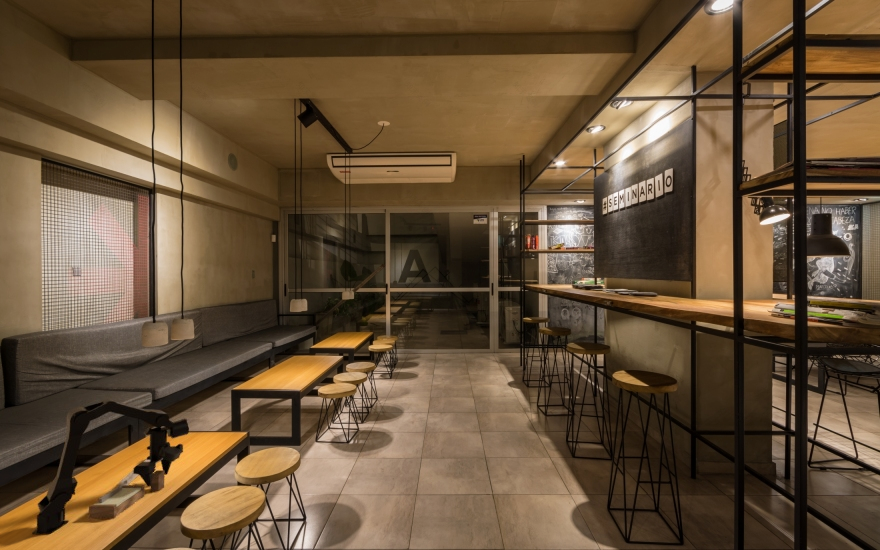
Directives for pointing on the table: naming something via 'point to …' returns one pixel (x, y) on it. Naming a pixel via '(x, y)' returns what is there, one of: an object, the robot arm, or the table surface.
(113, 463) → the table surface
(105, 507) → the wooden tray
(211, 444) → the table surface
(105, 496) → the cream cabinet door
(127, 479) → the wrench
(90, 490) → the table surface
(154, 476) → the brown rectangular block
